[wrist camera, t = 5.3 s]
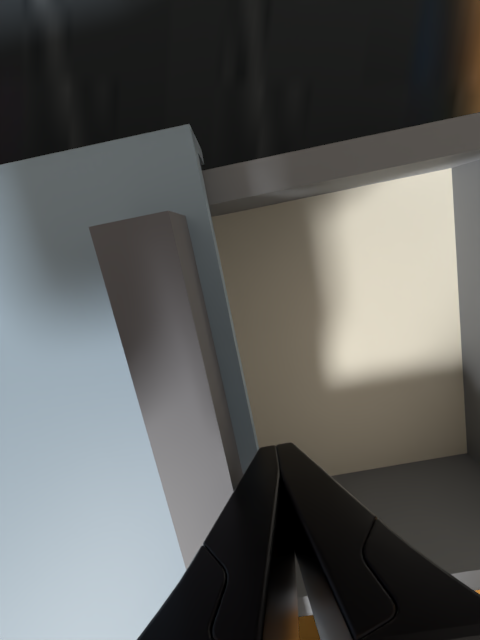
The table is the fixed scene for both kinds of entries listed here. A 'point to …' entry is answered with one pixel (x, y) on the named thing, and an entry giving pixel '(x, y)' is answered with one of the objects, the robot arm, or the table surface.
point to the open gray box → (367, 321)
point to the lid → (111, 385)
